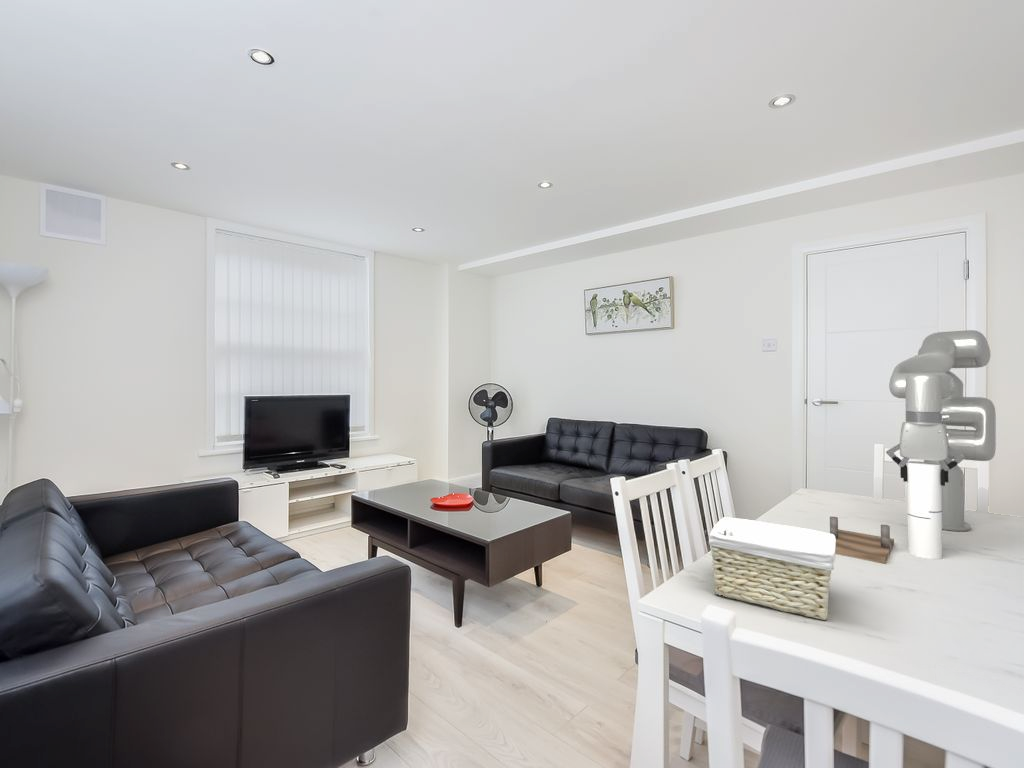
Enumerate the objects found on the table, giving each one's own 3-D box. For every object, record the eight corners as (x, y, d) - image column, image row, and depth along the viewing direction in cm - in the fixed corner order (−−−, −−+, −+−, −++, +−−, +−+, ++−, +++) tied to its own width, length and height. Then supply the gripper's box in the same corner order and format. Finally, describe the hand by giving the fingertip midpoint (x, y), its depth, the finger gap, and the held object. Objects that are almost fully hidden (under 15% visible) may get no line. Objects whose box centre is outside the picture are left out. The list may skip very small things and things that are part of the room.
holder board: (836, 533, 148) (836, 509, 148) (894, 544, 139) (893, 518, 139) (822, 551, 134) (822, 524, 134) (885, 563, 124) (885, 535, 124)
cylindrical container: (948, 560, 126) (948, 466, 126) (917, 558, 127) (917, 465, 127) (931, 550, 133) (930, 461, 133) (901, 549, 134) (901, 461, 134)
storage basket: (836, 596, 107) (836, 531, 106) (835, 628, 93) (835, 553, 93) (722, 573, 120) (721, 515, 120) (707, 597, 107) (706, 532, 107)
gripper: (967, 418, 127) (967, 485, 127) (884, 416, 139) (885, 476, 139) (967, 420, 121) (968, 490, 121) (881, 417, 133) (882, 480, 133)
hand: (923, 482), depth 130 cm, fingers closed on cylindrical container, 7 cm apart
